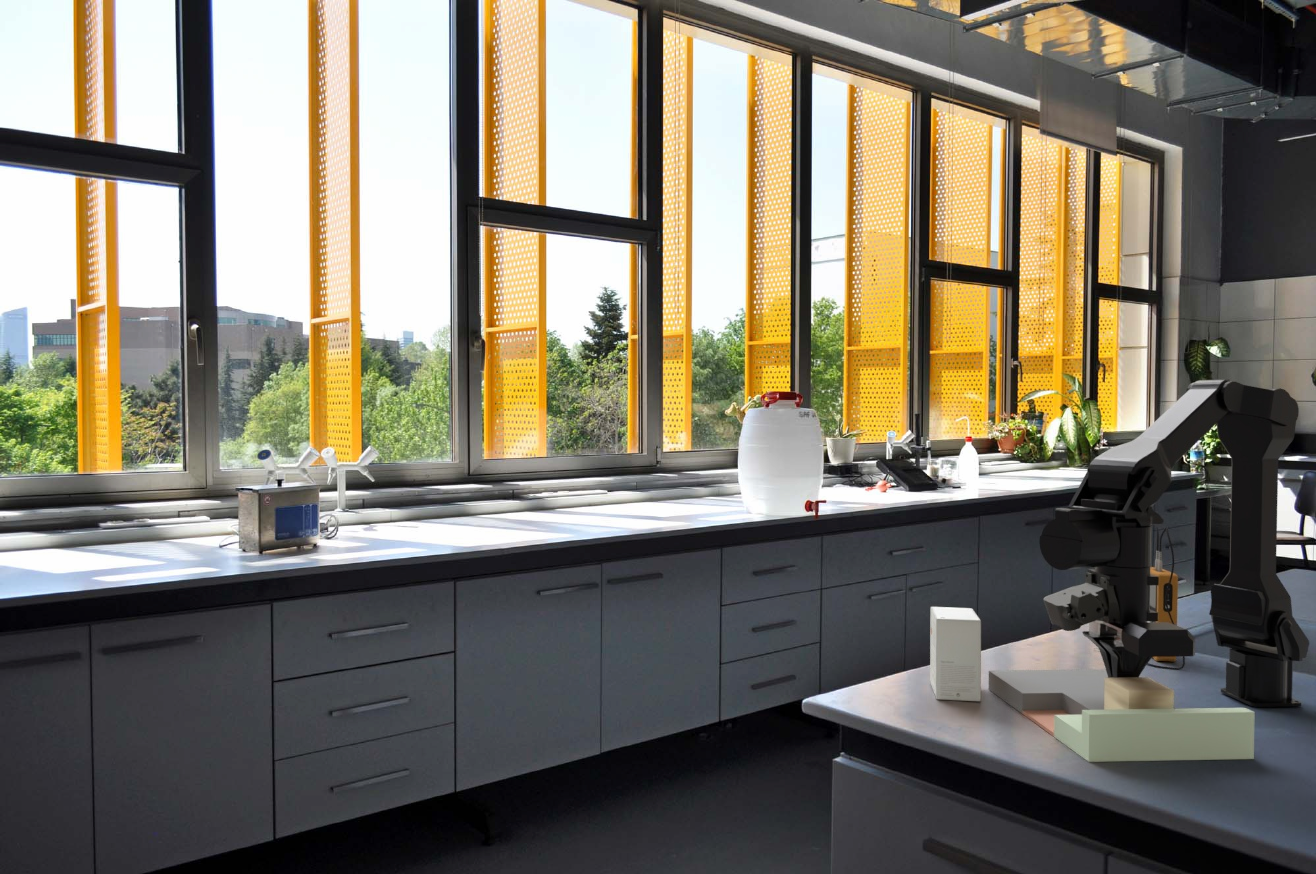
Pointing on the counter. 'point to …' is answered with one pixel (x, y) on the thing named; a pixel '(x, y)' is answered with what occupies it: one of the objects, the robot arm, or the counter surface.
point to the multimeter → (1164, 595)
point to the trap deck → (1121, 720)
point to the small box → (955, 653)
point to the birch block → (1137, 694)
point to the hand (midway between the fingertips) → (1119, 698)
